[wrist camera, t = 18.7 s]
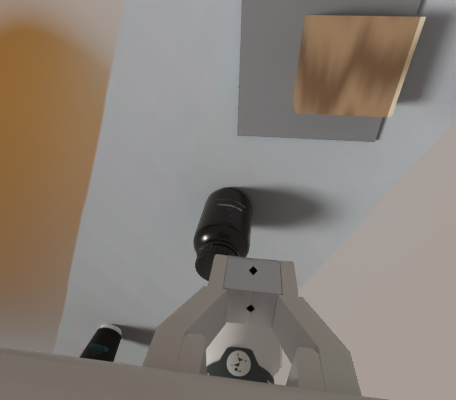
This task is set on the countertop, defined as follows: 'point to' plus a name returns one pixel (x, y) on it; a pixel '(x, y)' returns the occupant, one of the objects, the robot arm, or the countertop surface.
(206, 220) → the supplement bottle
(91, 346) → the dixie cup
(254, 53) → the mat
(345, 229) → the countertop surface
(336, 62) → the slab
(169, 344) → the robot arm
